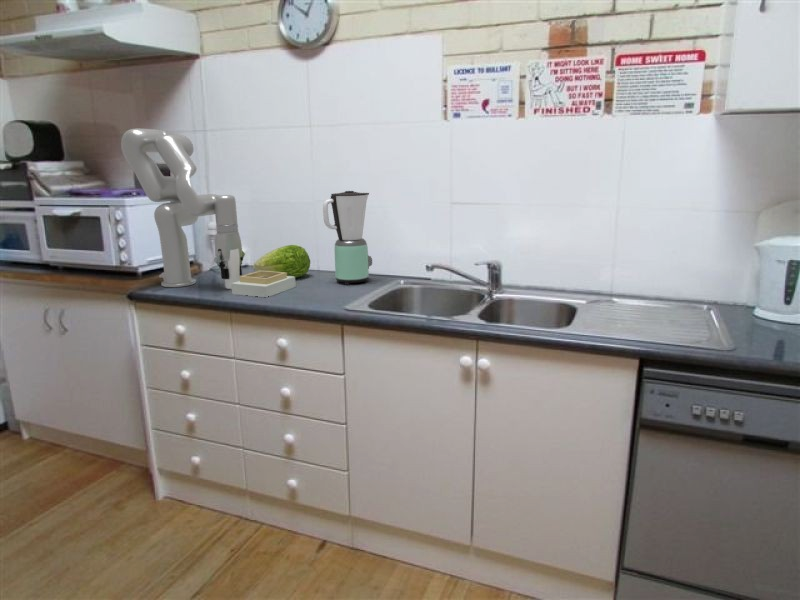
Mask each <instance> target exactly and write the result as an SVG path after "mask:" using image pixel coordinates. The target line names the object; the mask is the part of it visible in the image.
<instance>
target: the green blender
mask: <svg viewBox="0 0 800 600" xmlns="http://www.w3.org/2000/svg"><path fill="white" fill-rule="evenodd" d="M369 195H370V192H357V191H354V190H346V191H345V190H344V191H343V192H339V193H337V192H336V193H331V195H330V198H328V199H325V200H324V201H323V204H322V212H323V213H322V214H323V215H322V216H323V221H324V224H325V225H324V226H326V227H327V228H328V229H330V230H336V234H337V238H338V239H336V240H335V243H334V270H335V271H334V273H335V274H334V275H335V280H336V282H339V283H344V285H345V286H350V284H352V283H353V284H354V283H365V284H367V283H368V279H369V277H370V276H369V275H370V274H369V272H370V271H369V269H370V267H371V266H373V258H372V256H371V255H369V250H368V243H367V240H366V239H365V238H363V233H364V226H365V225H364V224H365V216H366V208H367V202H368V201H367V200H368V197H369ZM329 204H331V209H332V214H333V221H334V224H333V225H332V224H331V223H330V219H329Z"/></svg>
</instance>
